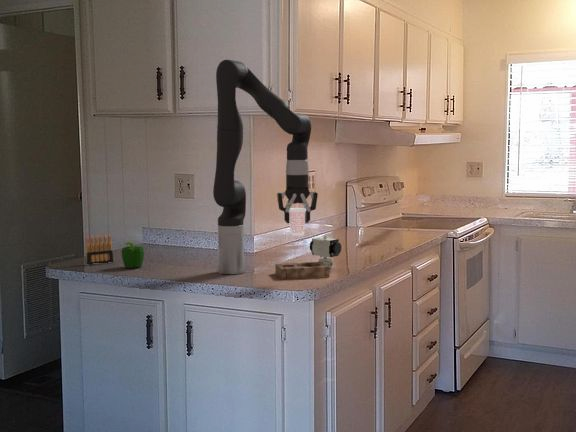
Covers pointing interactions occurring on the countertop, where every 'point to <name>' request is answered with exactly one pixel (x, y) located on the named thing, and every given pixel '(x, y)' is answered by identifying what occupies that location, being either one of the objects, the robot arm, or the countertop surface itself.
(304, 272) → the socket block
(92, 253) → the ammunition clip
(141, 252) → the bell pepper
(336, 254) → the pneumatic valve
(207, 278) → the countertop surface
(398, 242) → the countertop surface
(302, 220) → the beverage cup
